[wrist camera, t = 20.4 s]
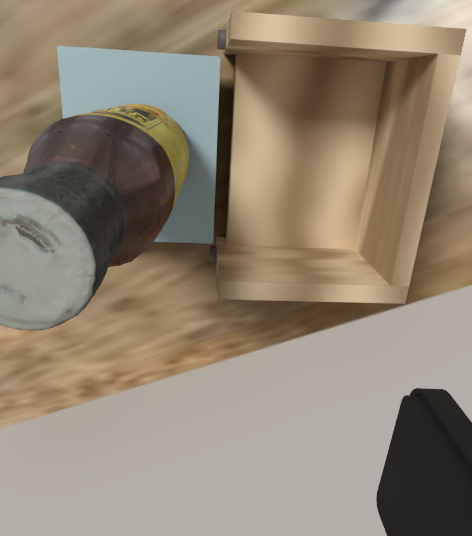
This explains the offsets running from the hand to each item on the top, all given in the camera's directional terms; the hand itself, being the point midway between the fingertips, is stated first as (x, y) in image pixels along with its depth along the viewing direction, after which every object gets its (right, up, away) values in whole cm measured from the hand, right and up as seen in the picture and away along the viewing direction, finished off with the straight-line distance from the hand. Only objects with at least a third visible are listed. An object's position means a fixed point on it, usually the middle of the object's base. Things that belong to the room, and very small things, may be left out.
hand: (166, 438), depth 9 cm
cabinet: (+6, +12, +24) cm, 28 cm away
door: (-5, +12, +22) cm, 26 cm away
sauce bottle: (-5, +11, +21) cm, 24 cm away
